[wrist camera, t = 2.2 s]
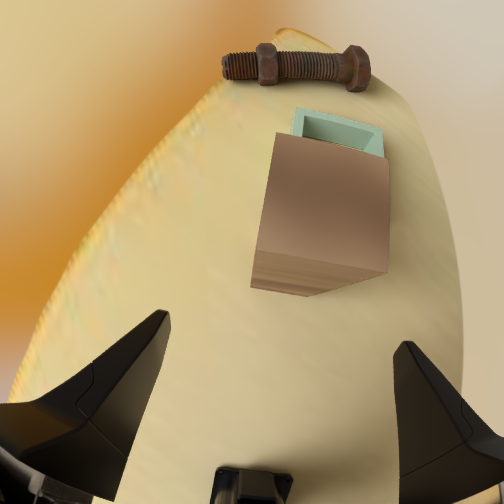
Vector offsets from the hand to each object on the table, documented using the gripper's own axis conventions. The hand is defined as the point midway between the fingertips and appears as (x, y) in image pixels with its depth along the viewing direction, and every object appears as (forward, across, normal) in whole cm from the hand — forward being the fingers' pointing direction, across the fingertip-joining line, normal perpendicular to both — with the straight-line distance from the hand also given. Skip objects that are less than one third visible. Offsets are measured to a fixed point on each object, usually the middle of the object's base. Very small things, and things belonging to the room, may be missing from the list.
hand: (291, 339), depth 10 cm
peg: (+11, 0, +5) cm, 12 cm away
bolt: (+26, +1, -10) cm, 28 cm away
